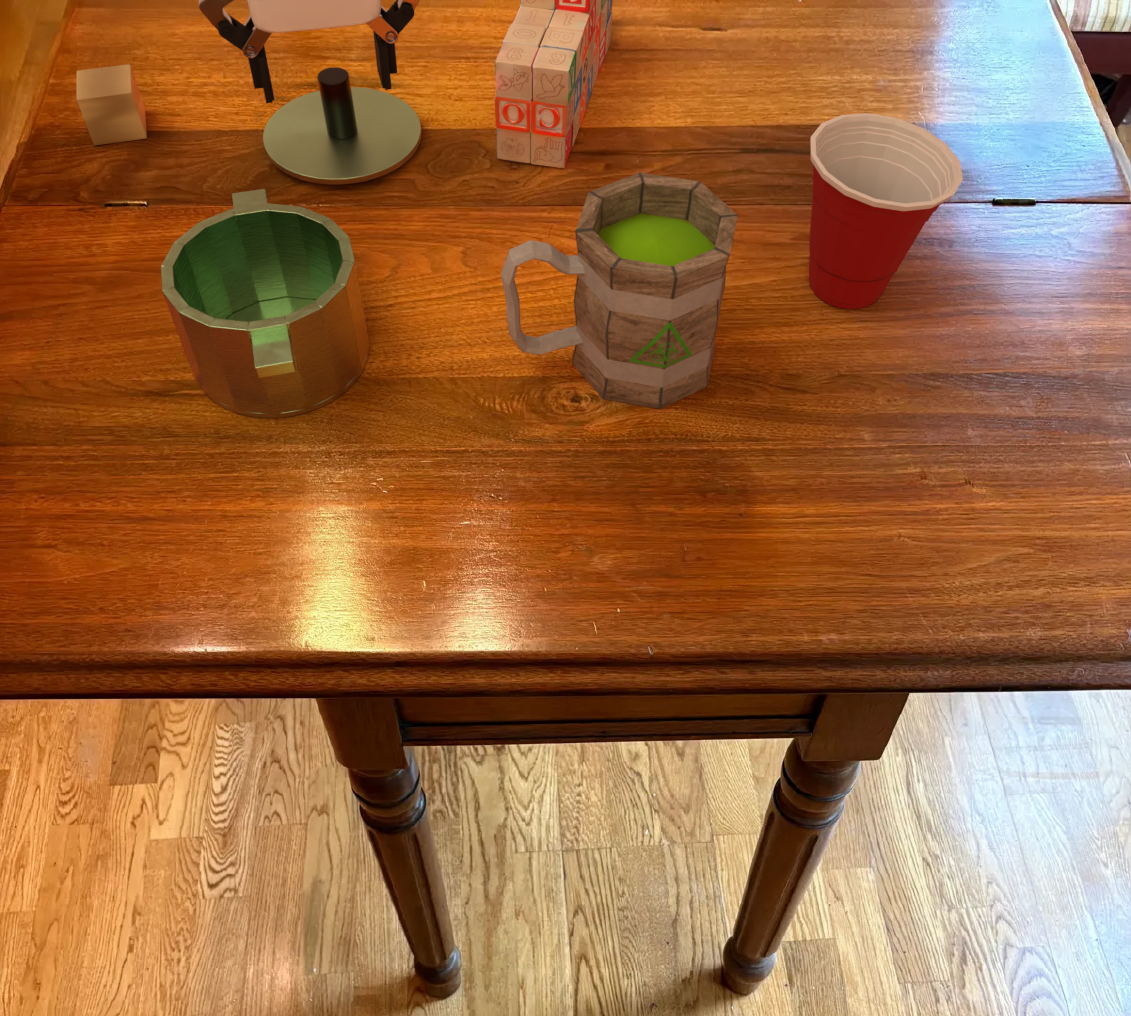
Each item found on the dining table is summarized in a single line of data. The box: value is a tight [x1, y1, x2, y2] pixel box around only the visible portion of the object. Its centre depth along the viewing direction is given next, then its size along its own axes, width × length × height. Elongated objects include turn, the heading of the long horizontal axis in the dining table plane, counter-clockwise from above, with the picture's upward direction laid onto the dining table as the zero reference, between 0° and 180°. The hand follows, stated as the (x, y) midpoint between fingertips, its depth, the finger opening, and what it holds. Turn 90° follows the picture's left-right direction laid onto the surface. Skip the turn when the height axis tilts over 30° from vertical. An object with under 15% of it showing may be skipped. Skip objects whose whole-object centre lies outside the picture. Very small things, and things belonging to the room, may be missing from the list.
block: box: [75, 63, 148, 146], centre depth 93 cm, size 4×4×4 cm
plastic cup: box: [808, 112, 964, 310], centre depth 80 cm, size 11×11×12 cm
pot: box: [160, 188, 371, 419], centre depth 75 cm, size 13×18×8 cm
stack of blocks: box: [494, 0, 613, 169], centre depth 94 cm, size 21×6×12 cm, turn 168°
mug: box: [501, 172, 739, 410], centre depth 74 cm, size 16×11×12 cm
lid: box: [262, 66, 423, 186], centre depth 92 cm, size 14×14×6 cm
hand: (327, 87), depth 90 cm, fingers open, 9 cm apart
